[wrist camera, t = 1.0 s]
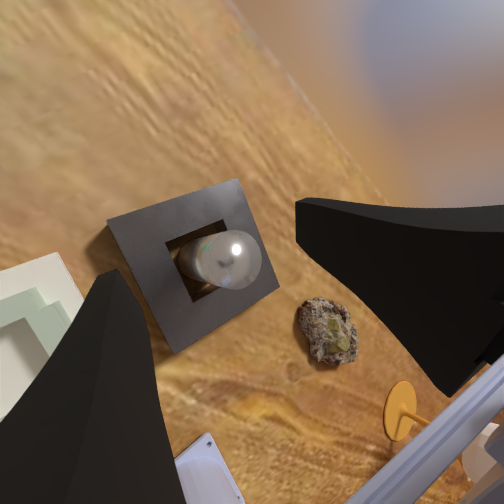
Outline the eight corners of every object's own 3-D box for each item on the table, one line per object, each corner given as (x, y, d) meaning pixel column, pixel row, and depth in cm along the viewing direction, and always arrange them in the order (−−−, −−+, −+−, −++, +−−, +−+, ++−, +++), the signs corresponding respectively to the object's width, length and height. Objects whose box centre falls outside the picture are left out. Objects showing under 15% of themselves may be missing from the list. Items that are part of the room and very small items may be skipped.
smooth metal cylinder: (225, 268, 24) (269, 272, 17) (189, 287, 22) (222, 300, 16) (209, 232, 24) (249, 221, 17) (170, 248, 22) (197, 243, 15)
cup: (388, 379, 37) (550, 449, 24) (418, 381, 42) (570, 443, 28) (379, 442, 36) (546, 558, 22) (410, 438, 40) (568, 533, 26)
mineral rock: (372, 323, 33) (364, 384, 28) (343, 324, 36) (332, 378, 31) (326, 274, 29) (308, 334, 25) (299, 280, 32) (279, 334, 28)
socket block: (266, 284, 27) (280, 286, 25) (168, 345, 21) (174, 354, 19) (226, 184, 25) (237, 177, 22) (107, 224, 19) (106, 220, 17)
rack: (131, 384, 20) (134, 399, 18) (-50, 502, 15) (-78, 544, 13) (57, 252, 18) (49, 251, 16) (-185, 337, 13) (-247, 353, 10)
